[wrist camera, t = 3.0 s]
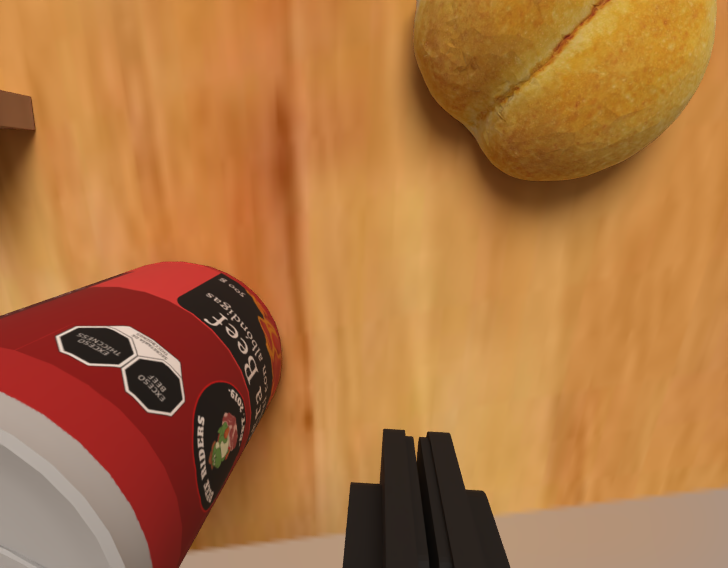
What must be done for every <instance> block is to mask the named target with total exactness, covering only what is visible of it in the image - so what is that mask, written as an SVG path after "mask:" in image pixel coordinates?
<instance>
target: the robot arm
mask: <svg viewBox="0 0 728 568" xmlns="http://www.w3.org/2000/svg"><path fill="white" fill-rule="evenodd" d="M343 568H510V565H509V562H508V559H507V556H506V553H505V550H504V547H503V544H502V541H501V538H500V535H499V532H498V529H497V526H496V523H495V520H494V517H493V514H492V511H491V508H490V505H489V502H488V499H487V496H486V494H485V493H484V492H483V491H478V490H465V486H464V483H463V479H462V475H461V472H460V468H459V464H458V461H457V457H456V453H455V450H454V446H453V442H452V439H451V435H450V433H443V432H427V436H426V437H419V441H418V452H417V463H416V455H415V447H414V439H413V437H412V436H405V430H395V429H383V441H382V457H381V472H380V484H370V483H354V482H351V485H350V495H349V506H348V516H347V527H346V538H345V548H344V559H343Z"/></svg>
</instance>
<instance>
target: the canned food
mask: <svg viewBox="0 0 728 568" xmlns="http://www.w3.org/2000/svg"><path fill="white" fill-rule="evenodd" d="M281 367H282V354H281V344H280V337H279V334H278V330H277V327H276V324H275V322H274V320H273V318H272V316H271V314H270V312H269V311H268V309H267V307H266V306H265V305H264V303H263V302H262V301H261V300H260V299H259V297H258V296H257V295H256V294H255V293H254V292H253V291H252V290H251V289H249V288H248V287H247V286H246V285H245V284H244V283H242V282H241V281H239V280H237V279H236V278H234V277H232V276H231V275H229V274H227V273H225V272H223V271H220V270H217V269H215V268H212V267H209V266H204V265H198V264H193V263H187V262H160V263H155V264H150V265H145V266H142V267H140V268H137V269H134V270H131V271H128V272H125V273H122V274H119V275H117V276H114V277H111V278H108V279H105V280H102V281H99V282H96V283H94V284H91V285H88V286H85V287H82V288H79V289H76V290H74V291H71V292H68V293H65V294H62V295H59V296H56V297H53V298H51V299H48V300H45V301H42V302H39V303H36V304H33V305H30V306H28V307H25V308H22V309H19V310H16V311H13V312H10V313H8V314H5V315H2V316H0V568H179V566H180V564H181V563H182V561H183V559H184V557H185V556H186V554H187V552H188V550H189V548H190V546H191V545H192V543H193V541H194V539H195V537H196V536H197V534H198V532H199V530H200V528H201V526H202V525H203V523H204V521H205V519H206V517H207V516H208V514H209V512H210V510H211V508H212V506H213V505H214V503H215V501H216V499H217V497H218V496H219V494H220V492H221V490H222V488H223V486H224V485H225V483H226V481H227V479H228V477H229V476H230V474H231V472H232V470H233V468H234V466H235V465H236V463H237V461H238V459H239V457H240V456H241V454H242V452H243V450H244V448H245V447H246V445H247V443H248V441H249V439H250V437H251V436H252V434H253V432H254V430H255V428H256V427H257V425H258V423H259V421H260V419H261V417H262V416H263V414H264V412H265V410H266V408H267V407H268V405H269V403H270V401H271V399H272V397H273V396H274V394H275V391H276V388H277V386H278V383H279V380H280V375H281Z"/></svg>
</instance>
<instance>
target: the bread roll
mask: <svg viewBox="0 0 728 568" xmlns="http://www.w3.org/2000/svg"><path fill="white" fill-rule="evenodd" d="M716 10H717V7H716V0H417V9H416V14H415V20H414V31H413V47H414V54H415V57H416V61H417V64H418V67H419V69H420V71H421V74H422V76H423V79H424V81H425V83H426V85H427V87H428V89H429V92H430V93H431V95H432V96H433V98H434V99H435V100H436V101H437V103H438V104H439V105H440V106H441V107H442V108H443V109H444V110H445V111H447V112H448V113H449V114H450V115H451V116H452V117H454V118H455V119H457V120H458V121H459V122H461V123H462V124H463V125H464V126H465V127H466V128H467V129H468V130H469V131H470V132H471V133H472V134H473V136H474V137H475V138H476V140H477V142H478V144H479V146H480V148H481V150H482V151H483V153H484V154H485V155H486V157H487V158H488V160H489V161H490V162H491V163H492V164H493V165H494V166H495V167H497V168H498V169H499V170H501V171H502V172H504V173H506V174H507V175H510V176H512V177H515V178H519V179H523V180H529V181H558V180H569V179H574V178H580V177H585V176H588V175H591V174H593V173H596V172H598V171H601V170H603V169H606V168H609V167H611V166H613V165H615V164H618V163H620V162H622V161H624V160H626V159H628V158H630V157H631V156H633V155H634V154H636V153H637V152H639V151H640V150H641V149H643V148H644V147H646V146H647V145H649V144H650V143H651V142H652V141H654V140H655V139H656V138H657V137H658V136H659V135H660V134H661V133H663V132H664V131H665V130H666V129H667V128H668V127H669V126H670V125H671V124H672V123H673V122H674V121H675V120H676V119H677V118H678V116H679V115H680V114H681V112H682V111H683V110H684V108H685V107H686V105H687V104H688V102H689V101H690V99H691V98H692V96H693V95H694V93H695V92H696V90H697V88H698V86H699V84H700V82H701V80H702V79H703V76H704V73H705V71H706V68H707V66H708V63H709V60H710V56H711V52H712V48H713V44H714V36H715V27H716Z"/></svg>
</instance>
